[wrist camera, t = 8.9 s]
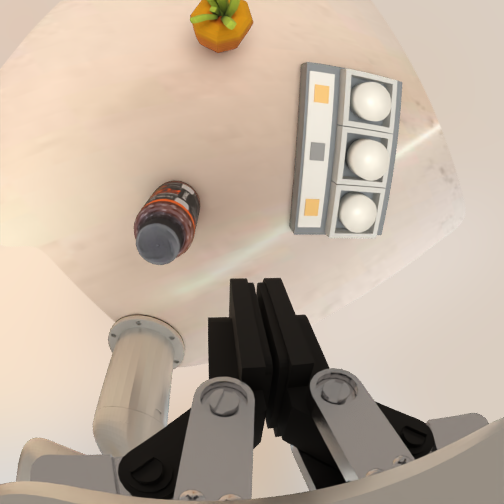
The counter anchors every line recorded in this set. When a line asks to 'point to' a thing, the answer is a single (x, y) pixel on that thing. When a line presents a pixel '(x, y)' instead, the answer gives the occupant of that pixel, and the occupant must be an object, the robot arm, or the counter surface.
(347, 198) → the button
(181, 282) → the counter surface
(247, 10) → the carrot
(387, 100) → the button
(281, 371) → the robot arm
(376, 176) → the button middle
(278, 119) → the counter surface
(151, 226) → the supplement bottle
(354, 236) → the panel
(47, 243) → the counter surface
